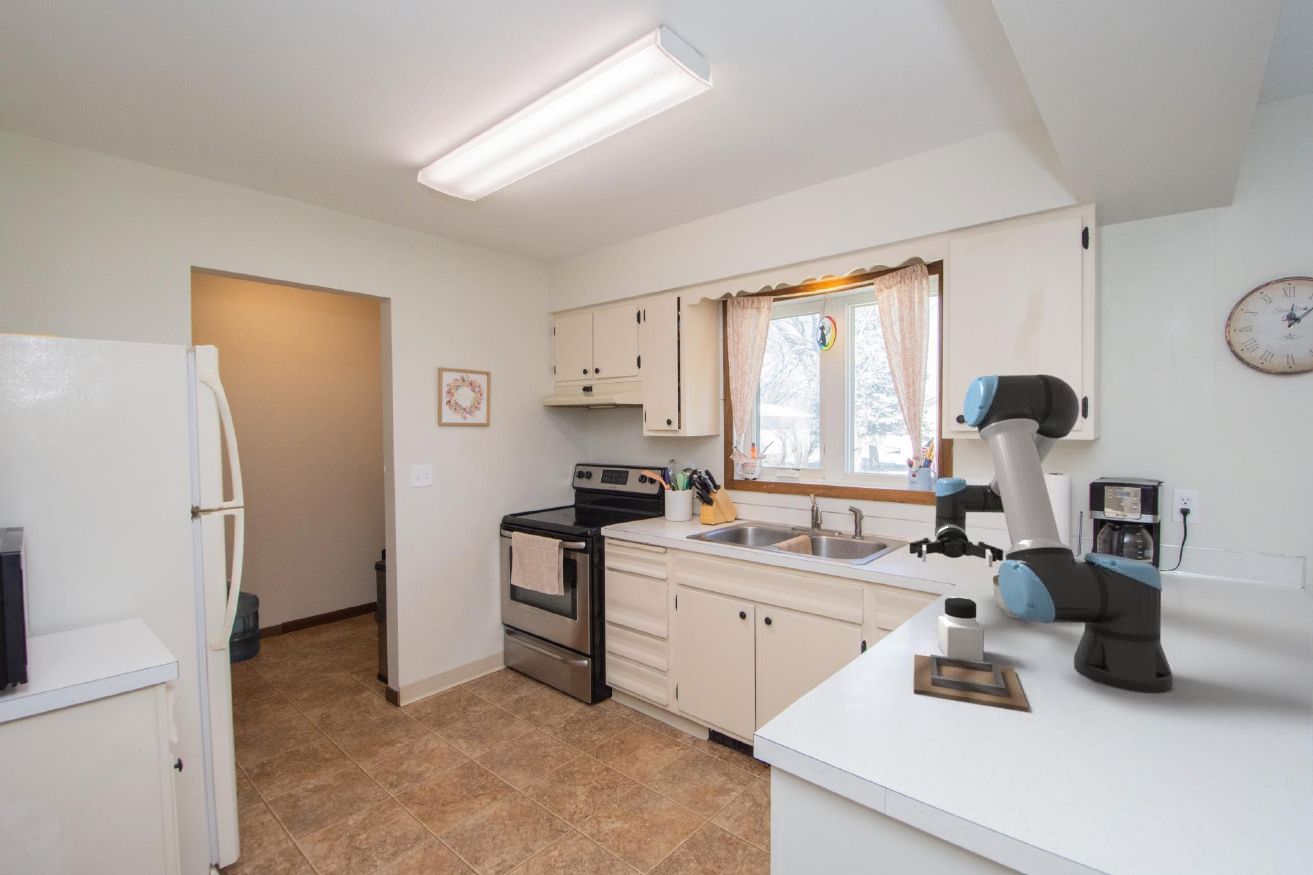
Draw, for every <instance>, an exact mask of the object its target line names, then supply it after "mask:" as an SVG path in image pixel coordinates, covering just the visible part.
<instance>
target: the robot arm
mask: <svg viewBox="0 0 1313 875" xmlns="http://www.w3.org/2000/svg"><path fill="white" fill-rule="evenodd" d="M963 402H964V403H963V418H964V421H965V423H966V425H967V426H969V427H970V428H977V430H978V435H979V438H980V439H981V440H982V441H984V442H987V443H988V445H989V450H990V455H991V458H992V463H993V467H994V473H995V474H994V477H992V480H991V481H990V483H989V484H983V485H982V484H981V485H980V484H979V485H978V484H967V481H966V479H965V478H961V477H960V478H959V477H939V478H938V479H937V480H936V484H935V493H934V494H935V525H934V526H935V527H934V536H935V541H932V540H931V539H930V538H929V537H924V538H923V539H920V540H916V541H912V542H909V554H911V555H913V554H917V555H916V556H917V558H920V559H922V562H925V563H926V562H927V555H930V554H939V555H944V556H945V557H947V558H949V559H951V558H952V559H957V558H961V557H963V556H966V557H971V556H974V557H977V558H980V559H984V560H985V562H986V564H987V567H988V568H993V562H997V561H999V562H1001V561H1003V562H1002V563H1001V564H1000V565H999V567H998V570H997V571H998V572H997V575H999V576H1000V577H998V583H999V588H1000V591H1001V594H1002V597H1003V599H1004V601H1005V603H1006V604H1007V606H1008V607H1009V609H1010V610H1011V611H1012V612H1013V613H1014V614H1015V615H1016V616H1018V617H1019V618H1018V619H1020V618H1021V619H1020V620H1022V621H1023V620H1024V621H1028V622H1040V623H1043V624H1047V623H1078V624H1079V623H1082V624H1084V632H1083V633H1082V635H1081V638H1080V641H1079V642H1078V645H1077V648H1076V650H1075V653H1074V655H1073V667H1074V668H1073V669H1074V670H1075V671H1076V672H1078V674H1080V675H1082V676H1084V677H1085V678H1087V679H1090V680H1092V681H1094V682H1096V683H1100V684H1103V685H1107V686H1108V687H1109V686H1110V687H1113V688H1117V689H1120V690H1121V689H1122V690H1127V691H1133V692H1142V693H1162V692H1167V691H1169V690H1172V689H1173V687H1174V685H1173V684H1174V676H1173V672H1172V669H1171V666H1170V663H1169V662H1168V658H1167V656H1166V654H1165V650H1164V649H1163V646H1162V642H1161V640H1162V639H1161V638H1162V637H1161V636H1162V635H1161V632H1162V630H1161V629H1162V628H1161V627H1162V624H1161V623H1162V622H1161V621H1162V620H1161V619H1162V617H1161V616H1162V613H1161V612H1162V611H1161V610H1162V600H1161V599H1162V591H1163V587H1162V582H1161V579H1162V578H1161V573H1160V570H1159V569H1158V567H1156V566H1154V565H1153V564H1150V563H1149V562H1145V561H1141V560H1138V559H1133V558H1129V557H1125V556H1119V555H1113V554H1107V553H1100V552H1087V553H1085V555H1084V557H1083V561H1076V560H1075V556H1074V552H1073V549H1072V548H1071V547H1069V546H1068V545H1066V544H1064V543H1063V542H1062V541H1061V536H1060V533H1059V530H1058V525H1057V523H1056V518H1055V514H1054V511H1053V505H1052V503H1051V498H1050V496H1049V491H1048V487H1047V483H1046V479H1045V476H1044V472H1043V468H1042V465H1043V462H1044V461H1045V460H1046V459H1047V457H1048V456H1049V454H1050V452H1051V451H1052V449H1053V448H1054V447H1055V445H1056V444H1057V442H1058V441H1059V440H1060V439H1063V438H1065V437H1067V436H1068V435H1069V434H1070V432H1071V431H1072V430H1073V429H1074V427H1075V425H1076V423H1077V421H1078V419H1079V414H1080V405H1079V404H1080V403H1079V398H1078V396H1077V394H1076V392H1075V391H1074V389H1073V388H1072V386H1070V384H1068V383H1067V382H1066V381H1064V380H1063V379H1061V378H1059V377H1057V376H1054V375H1050V374H1019V375H1017V374H1016V375H1015V374H1011V375H998V374H992V375H984V376H983V375H982V376H978V377H976V378H975V379H973V381H972V382H971V383H970V384H969V385H968V388H967V391H966V394H965V397H964V401H963ZM967 513H993V514H994V513H995V514H996V513H997V514H999V513H1000V514H1001V513H1002V514H1004V516H1005V522H1006V526H1007V530H1008V535H1009V539H1010V544H1011V548H1010V549H1009V550H1008V551H1007V552H1006V553H1005V560H1004V550H1003V549H1002V548H998V547H996V546H993V545H990V544H987V543H985V542H983V541H978V542H976V544H974V543H973V542H972V541H970V540H969V538H968V535H967V533H966V529H967V528H966V526H967V524H966V523H967V522H966V521H967V520H966V519H967Z"/></svg>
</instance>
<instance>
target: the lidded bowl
mask: <svg viewBox="0 0 1313 875" xmlns="http://www.w3.org/2000/svg"><path fill="white" fill-rule="evenodd" d="M998 577H1000V576H999V574H996V575H994V576H992V582H993V595H994V599H995V602H996V603H997V605H998V606H999V608H1000V609H1001V610H1002V611H1003V612H1004V614H1005V615H1006V616H1008V617H1011V618H1016V619H1020V620H1022V619H1021V618H1019V617H1018V616H1016V615H1015V614H1014V613H1013V612H1012V611H1011V610H1010V609H1009V607H1008V606H1007V604H1006V603H1005V601H1004V599H1003V597H1002V594H1001V591H1000V588H999V583H998Z"/></svg>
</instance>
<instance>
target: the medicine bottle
mask: <svg viewBox="0 0 1313 875" xmlns="http://www.w3.org/2000/svg"><path fill="white" fill-rule="evenodd" d="M984 630H985V629H984V627H982V625H980V624H979V622H978V621H977V603H976V601H974V600H972V599H970V598H967V597H963V596H951V597H948V598H946V599H945V600H944V615H939V616H938V648H939V650H940V651H941V652H942V654H943V656H945V657H953V658H960V659H967V660H975V661H982V662H985V661H984V660H985V654H984V652H985V651H984V650H985V649H984V648H985V646H984V645H985V641H984V640H985V639H984V637H985V636H984V635H985V634H984V633H985V631H984Z"/></svg>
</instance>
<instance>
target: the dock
mask: <svg viewBox="0 0 1313 875" xmlns="http://www.w3.org/2000/svg"><path fill="white" fill-rule="evenodd" d="M913 660H914V661H913V662H914V663H913V666H914V667H913V694H915V695H916V694H917V695H923V696H927V697H928V696H929V697H933V698H941V699H948V700H951V701H952V700H953V701H961V702H966V703H971V702H972V703H973V704H979V705H985V706H989V707H990V706H991V707H995V708H996V707H997V708H1002V709H1010V710H1015V711H1021V712H1028V713H1029V706H1028V703H1027V699H1026V698H1025V695H1024V693H1023V690H1022V687H1021V684H1020V682H1019V679H1018V676H1017V674H1016V672H1015V669H1014V667H1011V666H1010V667H1009V666H1001V665H999V664H998V663H997V662H989V661H983V662H982V661H975V660H967V659H960V658H953V657H946V656H945V655H936V654H930V656H929V655H928V656H927V655H921V654H914V659H913Z"/></svg>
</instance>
